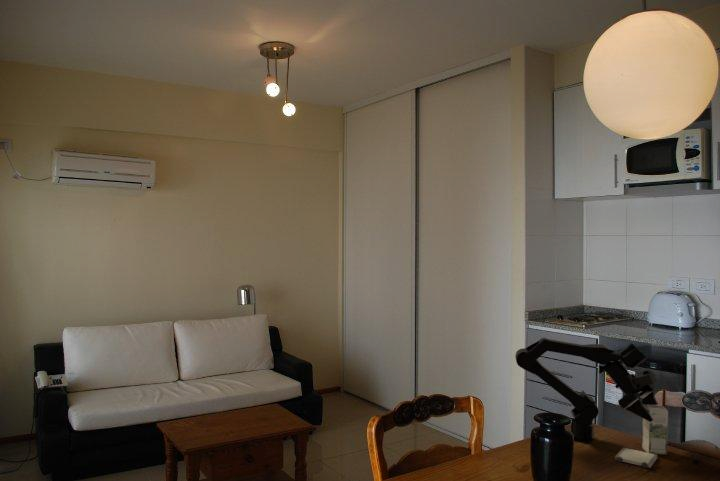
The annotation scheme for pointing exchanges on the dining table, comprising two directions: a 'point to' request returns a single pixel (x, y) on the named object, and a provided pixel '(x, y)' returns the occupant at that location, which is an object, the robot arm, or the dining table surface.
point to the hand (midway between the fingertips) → (656, 417)
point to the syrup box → (655, 430)
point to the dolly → (636, 457)
